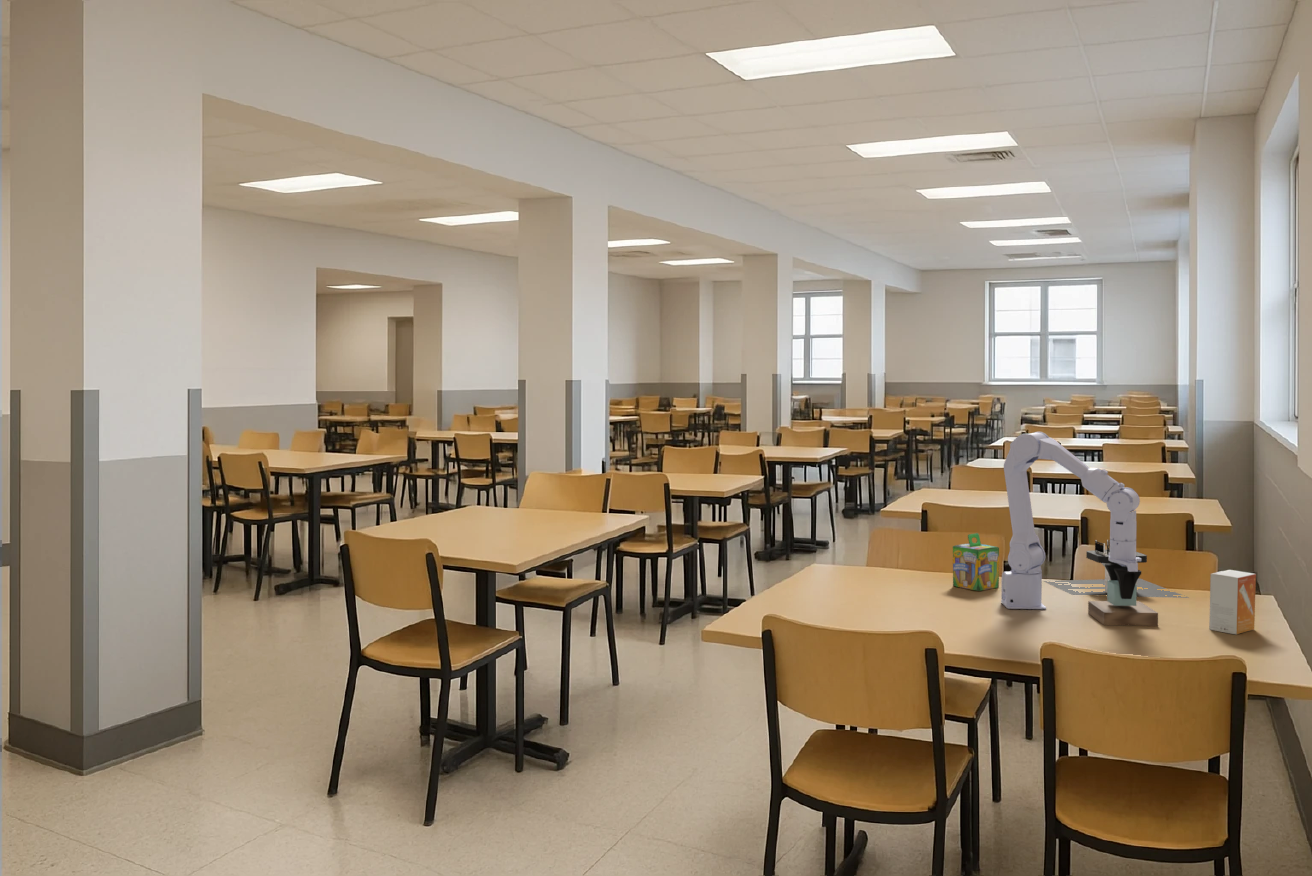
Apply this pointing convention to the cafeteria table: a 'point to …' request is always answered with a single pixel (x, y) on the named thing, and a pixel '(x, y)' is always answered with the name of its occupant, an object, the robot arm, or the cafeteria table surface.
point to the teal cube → (1115, 596)
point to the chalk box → (975, 565)
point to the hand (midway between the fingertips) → (1122, 596)
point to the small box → (1232, 601)
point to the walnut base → (1123, 614)
